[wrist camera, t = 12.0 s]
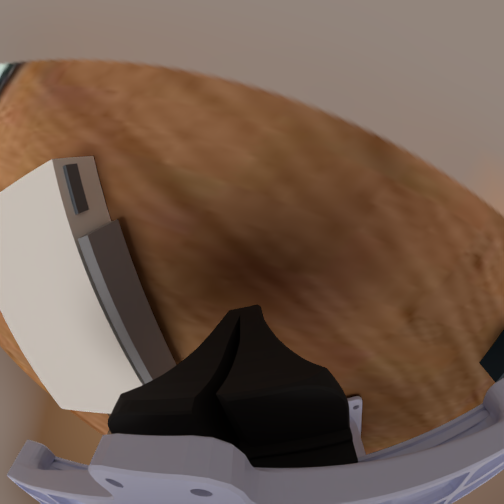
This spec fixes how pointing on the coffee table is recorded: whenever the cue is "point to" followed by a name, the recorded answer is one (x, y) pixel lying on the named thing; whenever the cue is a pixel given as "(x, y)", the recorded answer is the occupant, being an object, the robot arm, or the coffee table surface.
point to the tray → (126, 300)
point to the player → (60, 286)
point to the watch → (495, 359)
